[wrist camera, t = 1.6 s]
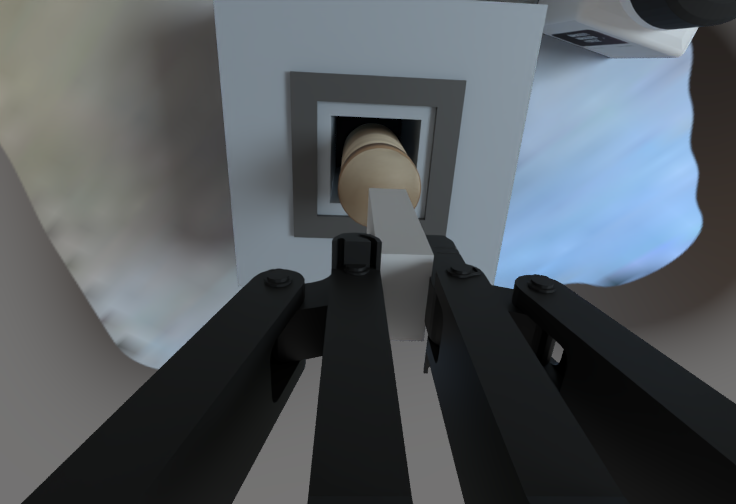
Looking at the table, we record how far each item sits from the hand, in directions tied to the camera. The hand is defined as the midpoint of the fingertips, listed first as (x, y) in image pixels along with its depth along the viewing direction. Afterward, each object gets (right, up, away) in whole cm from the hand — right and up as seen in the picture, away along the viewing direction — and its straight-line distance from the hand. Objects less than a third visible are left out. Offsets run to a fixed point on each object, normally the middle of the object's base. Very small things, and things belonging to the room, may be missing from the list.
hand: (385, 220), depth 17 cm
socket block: (-1, +8, +18) cm, 20 cm away
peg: (0, +5, +11) cm, 13 cm away
